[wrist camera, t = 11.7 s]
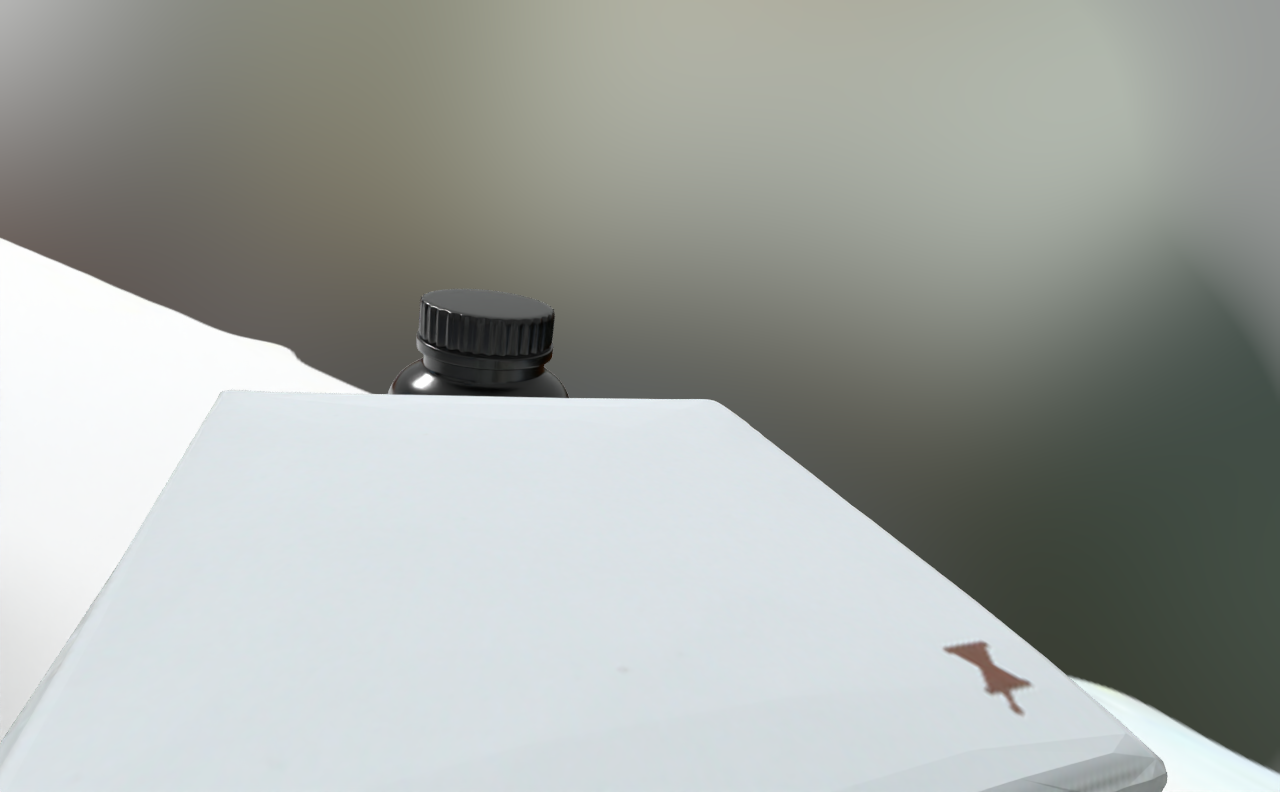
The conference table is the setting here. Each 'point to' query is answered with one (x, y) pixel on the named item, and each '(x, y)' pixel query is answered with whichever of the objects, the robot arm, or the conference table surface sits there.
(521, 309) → the supplement bottle
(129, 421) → the conference table surface
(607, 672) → the supplement box
